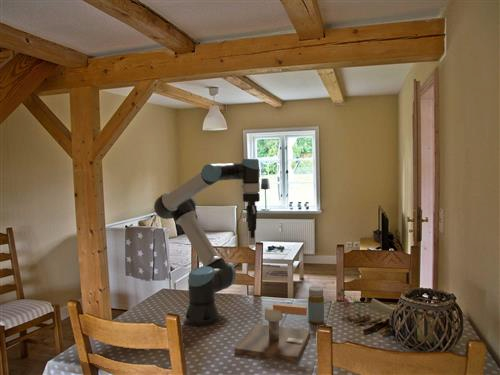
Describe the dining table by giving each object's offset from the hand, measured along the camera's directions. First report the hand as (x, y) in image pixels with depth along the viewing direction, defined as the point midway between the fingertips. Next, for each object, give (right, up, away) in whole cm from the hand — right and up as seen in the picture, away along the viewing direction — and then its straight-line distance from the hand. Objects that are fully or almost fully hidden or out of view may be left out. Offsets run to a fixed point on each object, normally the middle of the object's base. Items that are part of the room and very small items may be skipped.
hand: (252, 244), depth 183 cm
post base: (+8, -36, -24) cm, 44 cm away
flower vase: (+55, -34, 0) cm, 65 cm away
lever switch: (+13, -25, -26) cm, 39 cm away
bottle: (+29, -34, -2) cm, 45 cm away
